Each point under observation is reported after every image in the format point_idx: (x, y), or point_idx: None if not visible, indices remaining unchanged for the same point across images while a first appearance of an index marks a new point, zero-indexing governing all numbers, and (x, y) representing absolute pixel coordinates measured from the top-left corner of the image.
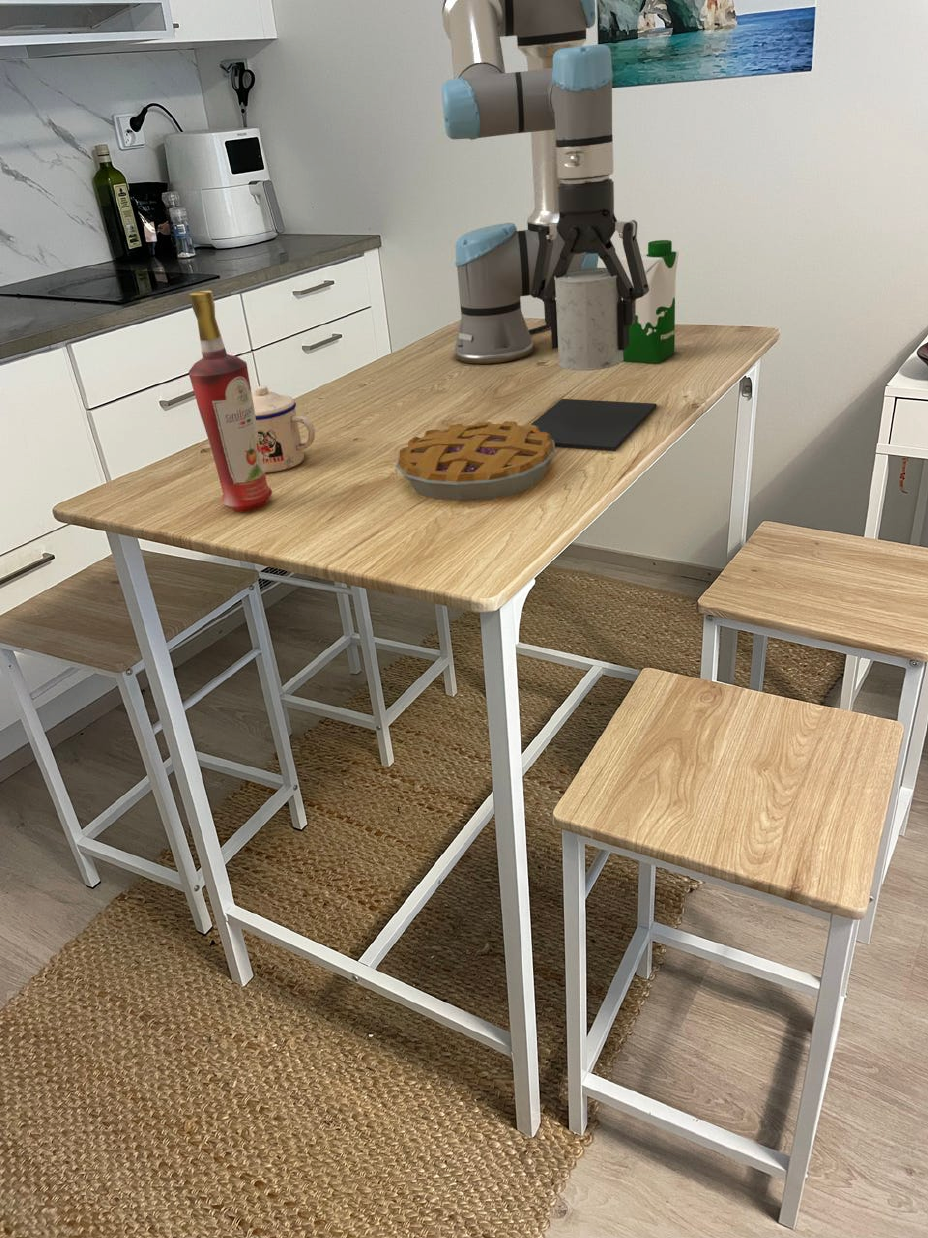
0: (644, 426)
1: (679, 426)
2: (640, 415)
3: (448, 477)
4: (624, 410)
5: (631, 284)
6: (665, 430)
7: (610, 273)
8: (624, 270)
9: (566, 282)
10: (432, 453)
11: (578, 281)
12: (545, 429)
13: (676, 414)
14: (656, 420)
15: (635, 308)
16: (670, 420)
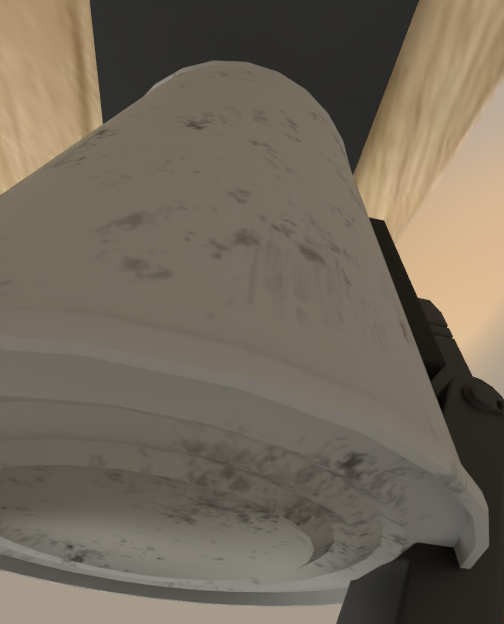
0: (377, 141)
1: (463, 142)
2: (375, 80)
3: None
4: (330, 22)
5: (499, 469)
6: (422, 171)
7: (348, 609)
8: (496, 592)
9: (89, 576)
10: None
11: (164, 596)
12: None
13: (488, 24)
14: (415, 89)
15: (458, 354)
16: (453, 89)
